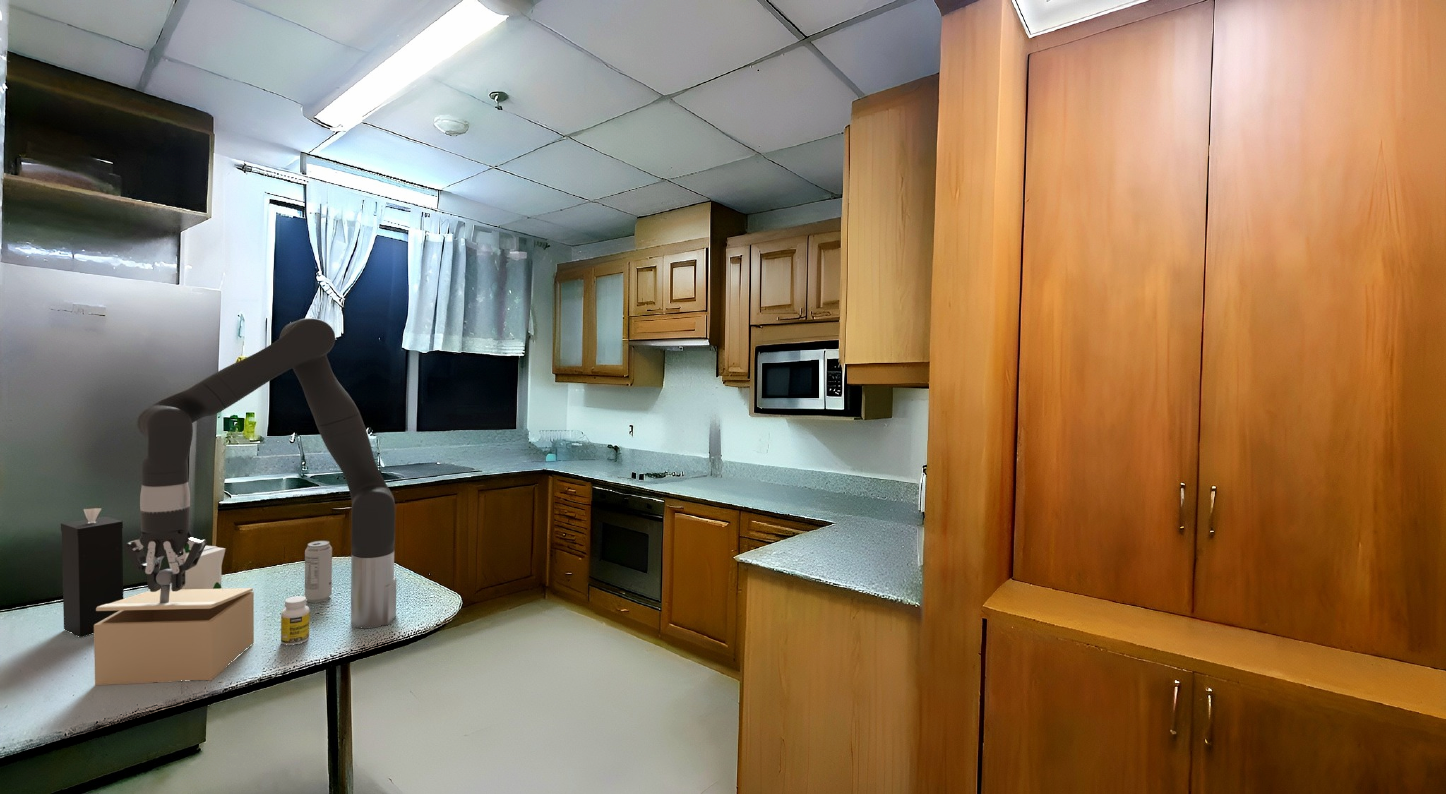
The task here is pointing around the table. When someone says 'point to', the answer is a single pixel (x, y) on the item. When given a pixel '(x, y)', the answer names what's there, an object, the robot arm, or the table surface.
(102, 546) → the tall black box
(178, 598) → the flap
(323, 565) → the energy drink can
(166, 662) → the carton
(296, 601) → the supplement bottle
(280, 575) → the table surface
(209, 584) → the milk carton
